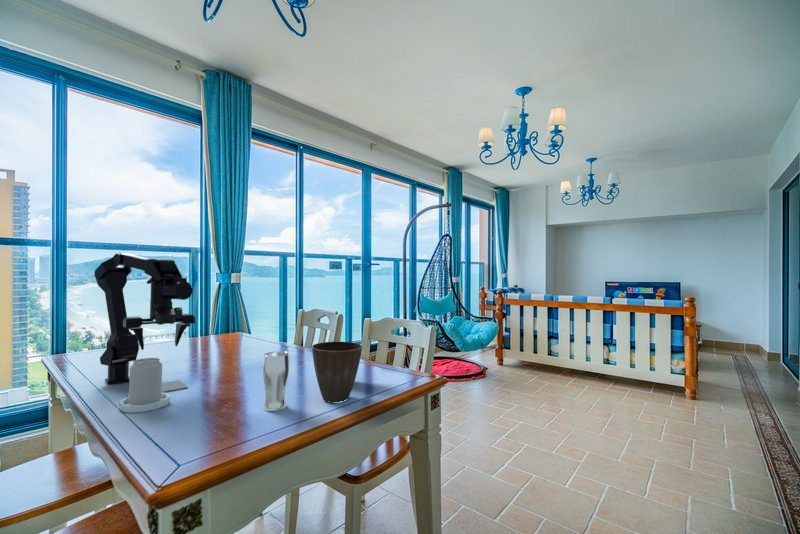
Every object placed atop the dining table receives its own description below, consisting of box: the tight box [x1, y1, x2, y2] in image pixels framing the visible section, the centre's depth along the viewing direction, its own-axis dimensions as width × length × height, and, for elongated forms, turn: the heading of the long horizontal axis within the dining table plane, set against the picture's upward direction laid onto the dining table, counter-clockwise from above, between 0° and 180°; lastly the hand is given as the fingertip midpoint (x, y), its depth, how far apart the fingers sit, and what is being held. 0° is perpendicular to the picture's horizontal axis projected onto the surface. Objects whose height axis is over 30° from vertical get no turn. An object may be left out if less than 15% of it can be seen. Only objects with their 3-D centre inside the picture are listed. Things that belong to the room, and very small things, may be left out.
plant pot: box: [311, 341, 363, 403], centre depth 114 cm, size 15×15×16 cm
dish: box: [118, 392, 171, 414], centre depth 105 cm, size 11×11×2 cm
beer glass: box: [262, 350, 290, 412], centre depth 105 cm, size 7×7×15 cm
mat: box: [161, 380, 189, 393], centre depth 121 cm, size 10×10×1 cm
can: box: [128, 357, 163, 405], centre depth 105 cm, size 8×8×12 cm
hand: (159, 347), depth 119 cm, fingers open, 9 cm apart
